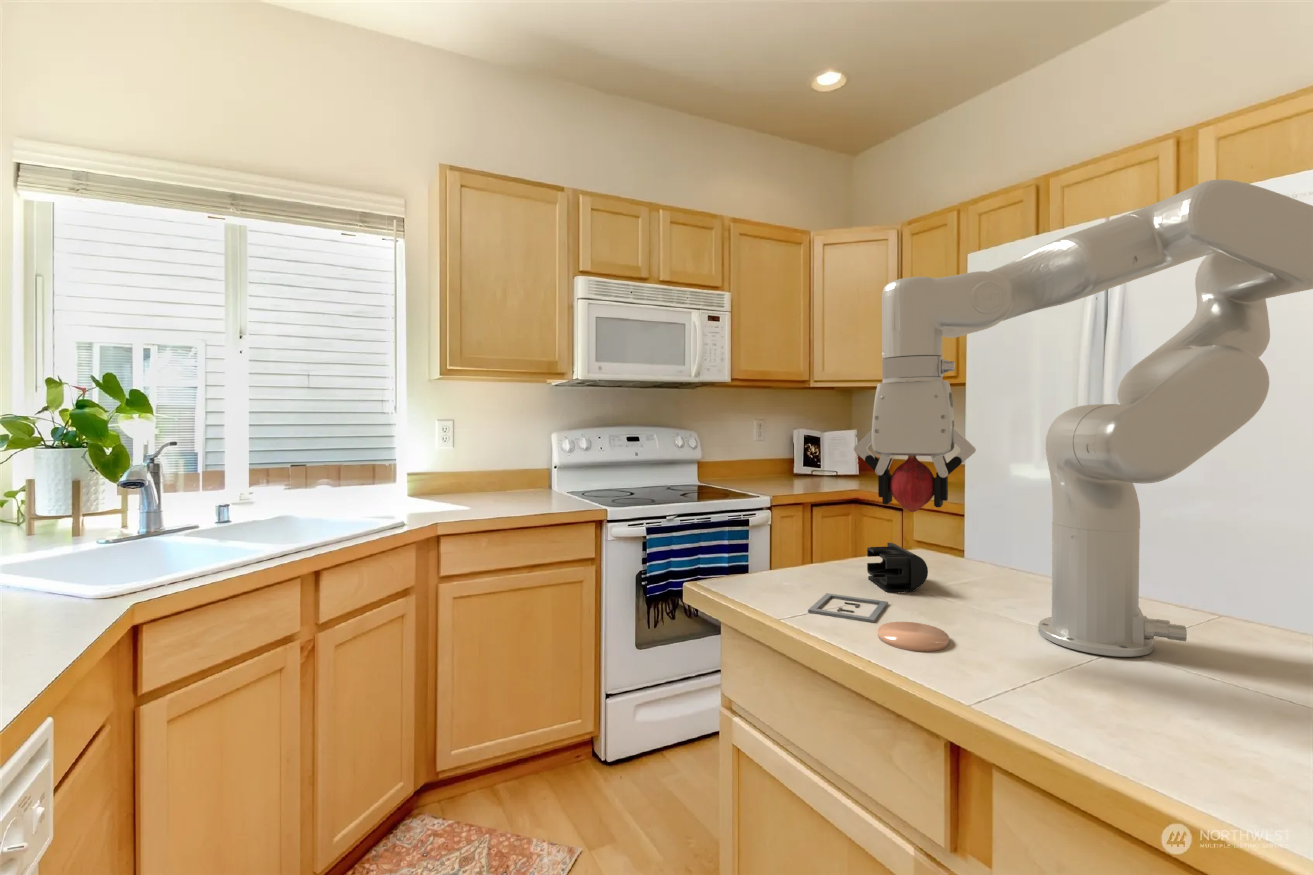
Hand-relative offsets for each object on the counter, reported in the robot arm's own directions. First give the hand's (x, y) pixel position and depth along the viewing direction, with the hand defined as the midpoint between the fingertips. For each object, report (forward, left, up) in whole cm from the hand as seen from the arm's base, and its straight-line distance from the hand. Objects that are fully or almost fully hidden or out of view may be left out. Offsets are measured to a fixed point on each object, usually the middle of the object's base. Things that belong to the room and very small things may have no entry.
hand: (912, 503), depth 84 cm
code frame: (+11, -9, -19) cm, 24 cm away
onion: (0, 0, -1) cm, 1 cm away
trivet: (0, 0, -19) cm, 19 cm away
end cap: (+7, -26, -19) cm, 33 cm away
